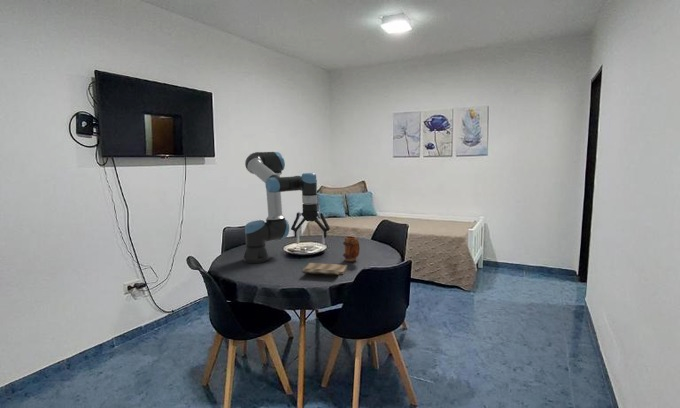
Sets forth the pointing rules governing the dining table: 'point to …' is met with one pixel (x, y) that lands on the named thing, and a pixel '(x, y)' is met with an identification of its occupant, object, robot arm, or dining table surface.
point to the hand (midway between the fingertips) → (310, 243)
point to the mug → (351, 248)
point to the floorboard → (327, 267)
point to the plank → (321, 271)
